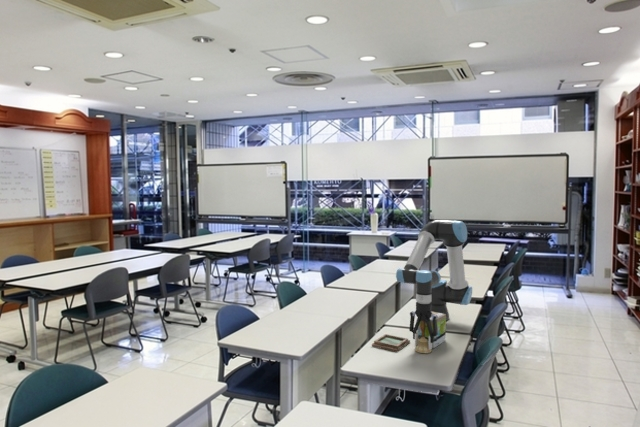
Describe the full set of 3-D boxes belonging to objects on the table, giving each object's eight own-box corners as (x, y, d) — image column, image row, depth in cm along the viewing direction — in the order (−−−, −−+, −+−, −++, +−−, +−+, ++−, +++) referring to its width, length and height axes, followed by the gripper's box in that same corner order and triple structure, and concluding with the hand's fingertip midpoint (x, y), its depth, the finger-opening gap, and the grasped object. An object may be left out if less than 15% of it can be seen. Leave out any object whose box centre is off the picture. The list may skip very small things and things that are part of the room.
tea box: (434, 349, 225) (435, 320, 224) (416, 344, 231) (416, 316, 230) (446, 340, 237) (446, 313, 236) (428, 336, 243) (428, 310, 242)
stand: (385, 337, 242) (385, 333, 242) (409, 342, 234) (410, 338, 234) (371, 346, 229) (371, 341, 229) (396, 352, 221) (396, 347, 221)
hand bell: (418, 354, 218) (419, 322, 217) (412, 347, 226) (412, 317, 225) (434, 352, 220) (435, 321, 218) (427, 346, 228) (427, 315, 226)
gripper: (402, 300, 223) (401, 345, 225) (440, 306, 212) (439, 353, 214) (408, 297, 230) (408, 341, 231) (445, 303, 219) (444, 349, 220)
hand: (423, 347), depth 223 cm, fingers closed on hand bell, 7 cm apart
